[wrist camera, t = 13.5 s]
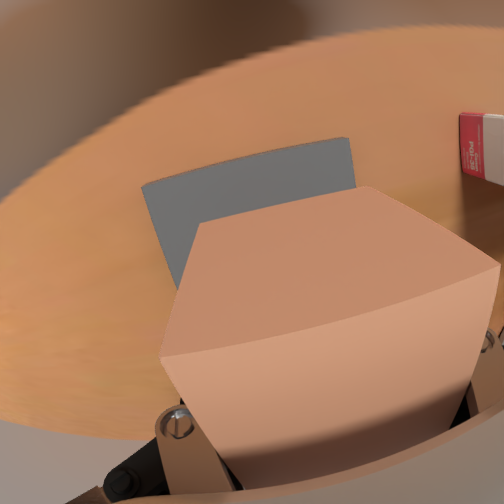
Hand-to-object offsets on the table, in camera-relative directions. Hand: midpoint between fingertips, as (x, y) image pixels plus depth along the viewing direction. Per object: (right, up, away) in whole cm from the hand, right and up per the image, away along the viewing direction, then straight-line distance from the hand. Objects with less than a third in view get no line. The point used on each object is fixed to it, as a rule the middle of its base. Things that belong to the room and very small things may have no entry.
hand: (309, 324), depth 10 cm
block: (0, +1, 0) cm, 1 cm away
